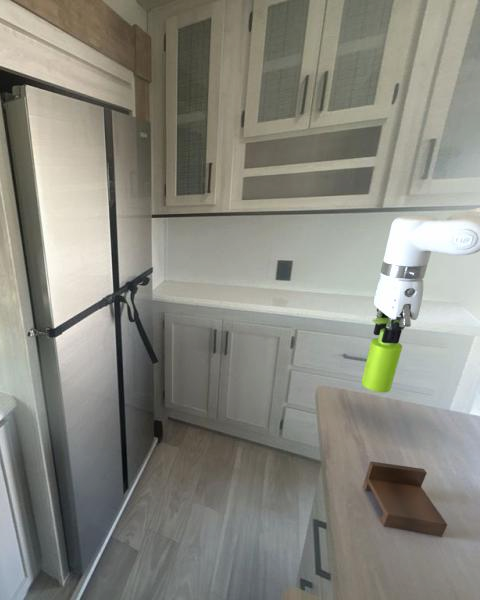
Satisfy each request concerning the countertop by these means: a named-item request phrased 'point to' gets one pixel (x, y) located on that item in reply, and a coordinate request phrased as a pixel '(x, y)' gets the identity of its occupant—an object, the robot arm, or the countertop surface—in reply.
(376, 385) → the soap dispenser
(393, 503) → the walnut shelf
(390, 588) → the countertop surface
